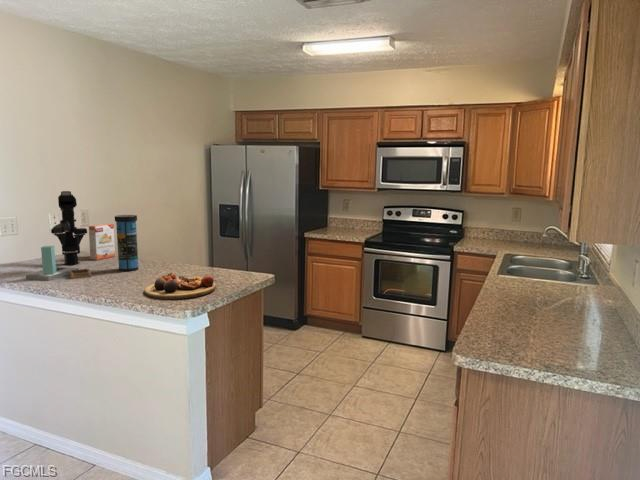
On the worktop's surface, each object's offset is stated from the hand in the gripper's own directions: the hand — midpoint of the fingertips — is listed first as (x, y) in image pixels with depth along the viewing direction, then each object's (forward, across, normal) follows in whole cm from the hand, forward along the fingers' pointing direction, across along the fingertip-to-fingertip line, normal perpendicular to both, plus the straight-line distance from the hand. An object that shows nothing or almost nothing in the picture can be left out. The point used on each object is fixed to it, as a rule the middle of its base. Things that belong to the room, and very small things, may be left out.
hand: (70, 246), depth 245 cm
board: (+13, -1, -12) cm, 18 cm away
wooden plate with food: (+16, +78, -17) cm, 81 cm away
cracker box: (+12, -7, +33) cm, 36 cm away
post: (+11, +2, -17) cm, 20 cm away
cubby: (+14, +14, -9) cm, 21 cm away
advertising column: (+14, +28, +11) cm, 33 cm away
